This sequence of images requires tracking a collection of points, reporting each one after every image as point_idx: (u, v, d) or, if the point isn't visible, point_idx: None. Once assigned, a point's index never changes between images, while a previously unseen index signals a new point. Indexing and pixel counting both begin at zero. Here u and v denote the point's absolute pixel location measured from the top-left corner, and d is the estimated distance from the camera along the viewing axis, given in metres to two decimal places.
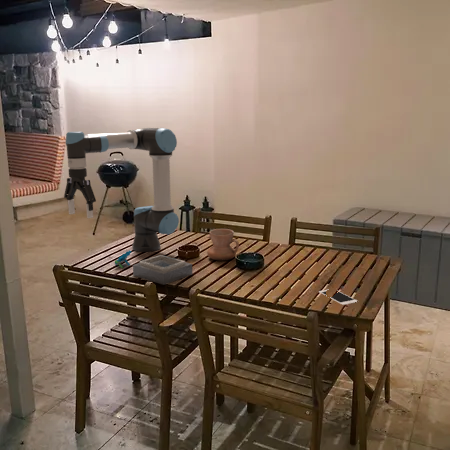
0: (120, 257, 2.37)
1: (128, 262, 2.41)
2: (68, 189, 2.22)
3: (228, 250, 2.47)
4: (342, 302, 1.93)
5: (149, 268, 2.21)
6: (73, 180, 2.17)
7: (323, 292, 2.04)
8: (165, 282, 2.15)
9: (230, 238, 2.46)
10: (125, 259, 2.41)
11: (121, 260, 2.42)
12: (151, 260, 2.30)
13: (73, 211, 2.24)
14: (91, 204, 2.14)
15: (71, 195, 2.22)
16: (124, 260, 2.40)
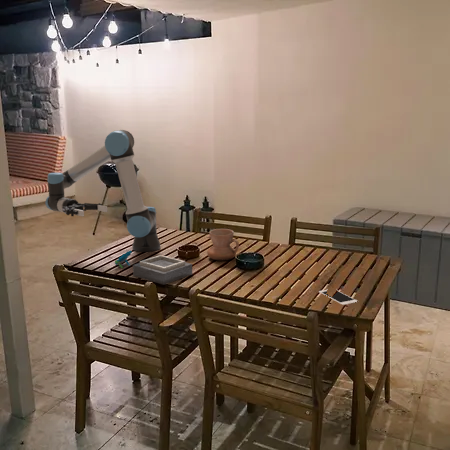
0: (120, 257, 2.37)
1: (128, 262, 2.41)
2: None
3: (228, 250, 2.47)
4: (342, 302, 1.93)
5: (149, 268, 2.21)
6: None
7: (323, 292, 2.04)
8: (165, 282, 2.15)
9: (230, 238, 2.46)
10: (125, 259, 2.41)
11: (121, 260, 2.42)
12: (151, 260, 2.30)
13: (104, 207, 2.41)
14: (72, 212, 2.32)
15: (93, 207, 2.45)
16: (124, 260, 2.40)
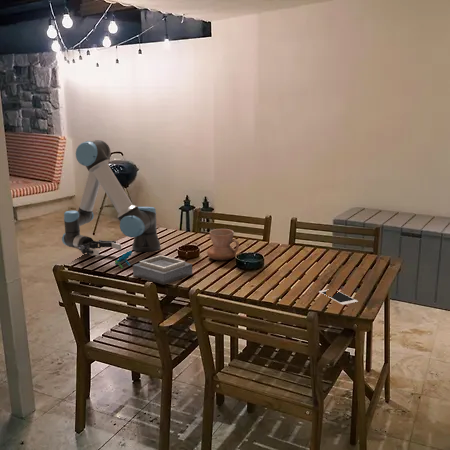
0: (120, 257, 2.37)
1: None
2: None
3: (228, 250, 2.47)
4: (342, 302, 1.93)
5: (149, 268, 2.21)
6: None
7: (323, 292, 2.04)
8: (165, 282, 2.15)
9: (230, 238, 2.46)
10: (126, 259, 2.40)
11: (122, 260, 2.42)
12: (151, 260, 2.30)
13: (118, 245, 2.52)
14: (87, 251, 2.44)
15: (108, 245, 2.56)
16: (124, 260, 2.40)
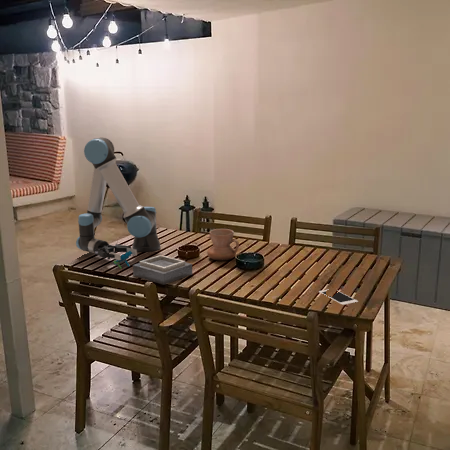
0: None
1: (128, 263, 2.40)
2: None
3: (228, 250, 2.47)
4: (342, 302, 1.93)
5: (149, 268, 2.21)
6: None
7: (323, 292, 2.04)
8: (165, 282, 2.15)
9: (230, 238, 2.46)
10: (125, 260, 2.39)
11: (121, 260, 2.41)
12: (151, 260, 2.30)
13: (134, 251, 2.42)
14: (108, 255, 2.37)
15: (123, 250, 2.47)
16: (124, 261, 2.39)
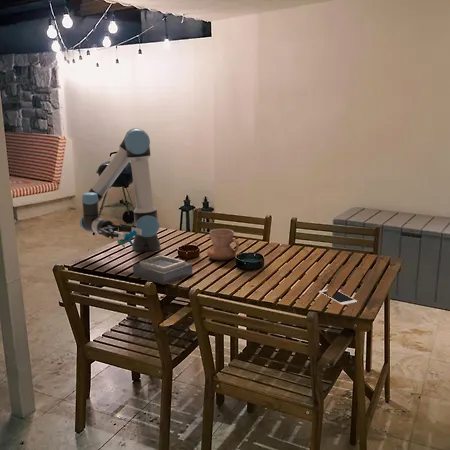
0: None
1: (132, 243, 2.31)
2: None
3: (228, 250, 2.47)
4: (342, 302, 1.93)
5: (149, 268, 2.21)
6: None
7: (323, 292, 2.04)
8: (165, 282, 2.15)
9: (230, 238, 2.46)
10: (129, 239, 2.31)
11: (126, 240, 2.32)
12: (151, 260, 2.30)
13: (138, 230, 2.33)
14: (112, 234, 2.28)
15: (127, 230, 2.38)
16: (128, 240, 2.30)
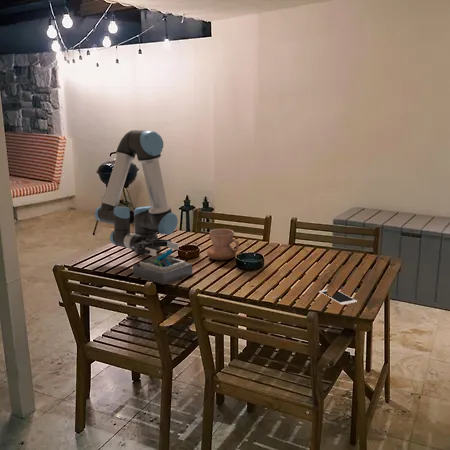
0: (160, 256, 2.20)
1: (169, 262, 2.24)
2: None
3: (228, 250, 2.47)
4: (342, 302, 1.93)
5: (149, 268, 2.21)
6: None
7: (323, 292, 2.04)
8: (165, 282, 2.15)
9: (230, 238, 2.46)
10: (166, 258, 2.24)
11: (162, 259, 2.26)
12: (151, 260, 2.30)
13: (175, 245, 2.28)
14: (143, 251, 2.20)
15: (162, 244, 2.32)
16: (165, 259, 2.23)
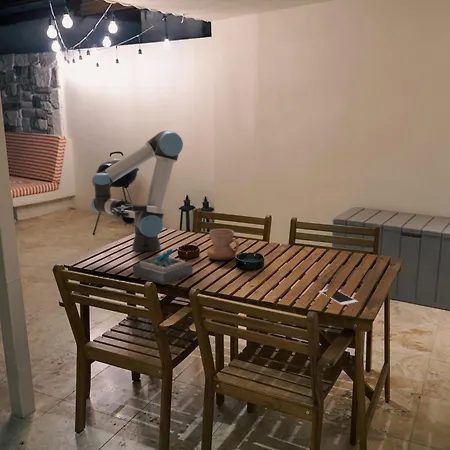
0: (160, 256, 2.20)
1: (169, 262, 2.24)
2: None
3: (228, 250, 2.47)
4: (342, 302, 1.93)
5: (149, 268, 2.21)
6: None
7: (323, 292, 2.04)
8: (165, 282, 2.15)
9: (230, 238, 2.46)
10: (166, 258, 2.24)
11: (162, 259, 2.26)
12: (151, 260, 2.30)
13: (154, 208, 2.33)
14: (122, 213, 2.25)
15: (142, 208, 2.37)
16: (165, 259, 2.23)
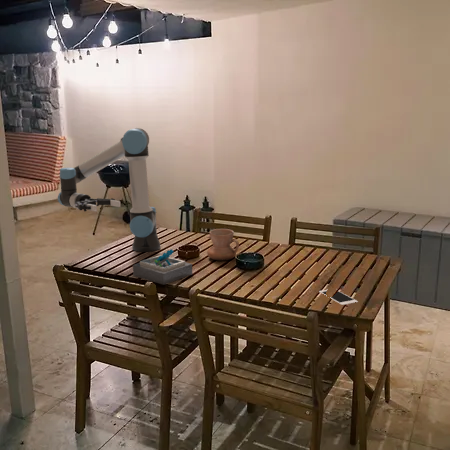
0: (160, 256, 2.20)
1: (169, 262, 2.24)
2: None
3: (228, 250, 2.47)
4: (341, 302, 1.93)
5: (149, 268, 2.21)
6: None
7: (323, 292, 2.04)
8: (165, 282, 2.15)
9: (230, 238, 2.46)
10: (166, 259, 2.24)
11: (162, 259, 2.26)
12: (151, 260, 2.30)
13: (117, 202, 2.37)
14: (85, 207, 2.29)
15: (106, 203, 2.41)
16: (165, 260, 2.23)
